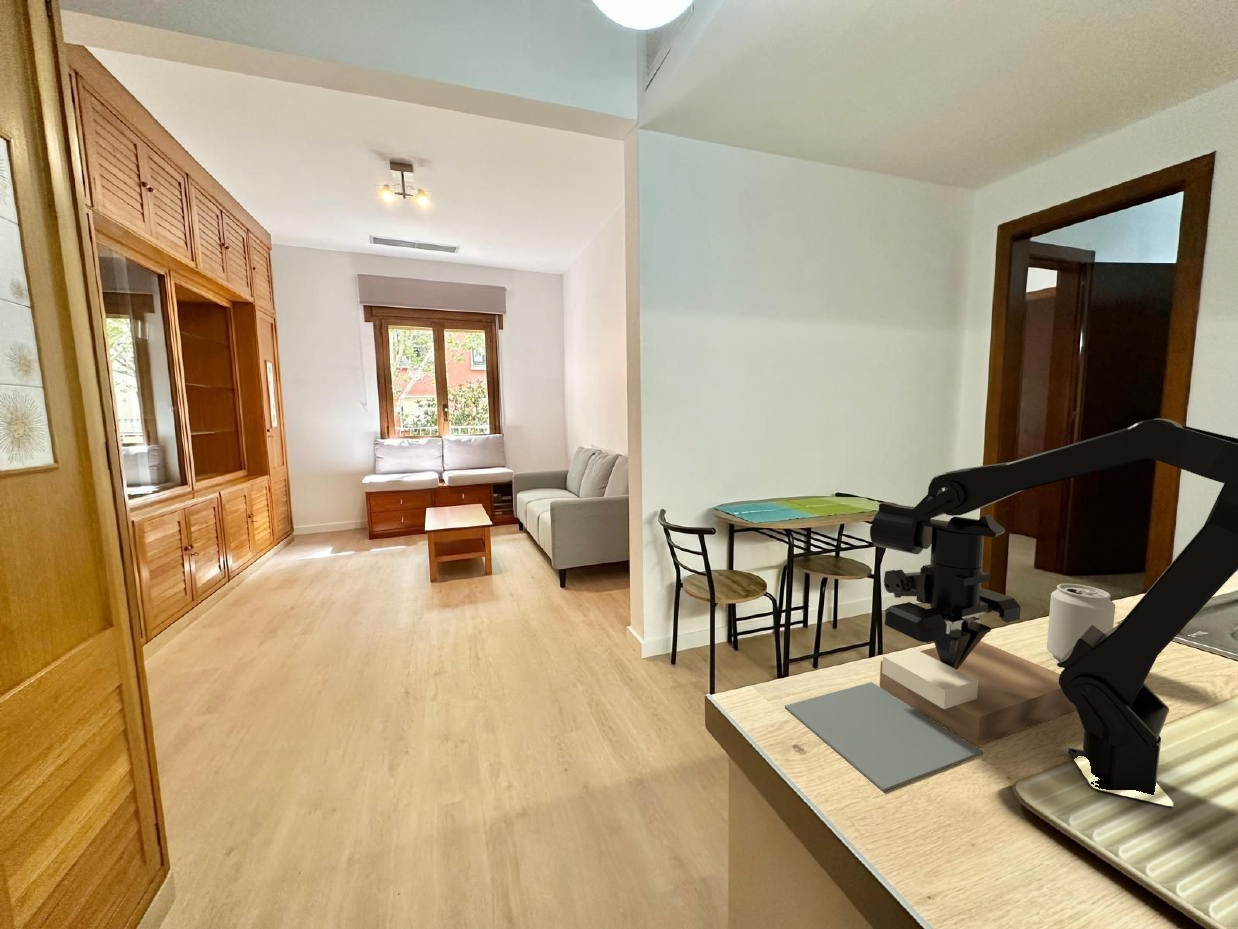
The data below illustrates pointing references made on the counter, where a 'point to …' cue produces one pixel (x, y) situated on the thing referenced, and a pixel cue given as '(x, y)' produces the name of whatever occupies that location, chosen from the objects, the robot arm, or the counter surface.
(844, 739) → the mat
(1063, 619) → the can
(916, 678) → the tile
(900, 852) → the counter surface
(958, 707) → the block
